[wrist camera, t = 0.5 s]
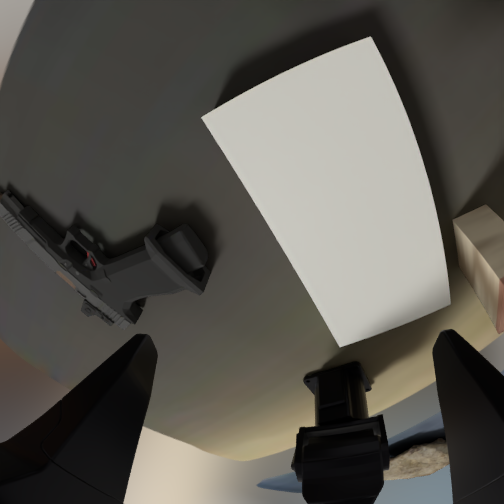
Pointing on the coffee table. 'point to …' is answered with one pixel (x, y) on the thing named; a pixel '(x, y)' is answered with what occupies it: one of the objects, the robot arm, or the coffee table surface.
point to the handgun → (113, 264)
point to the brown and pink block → (483, 258)
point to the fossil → (418, 461)
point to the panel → (341, 188)
